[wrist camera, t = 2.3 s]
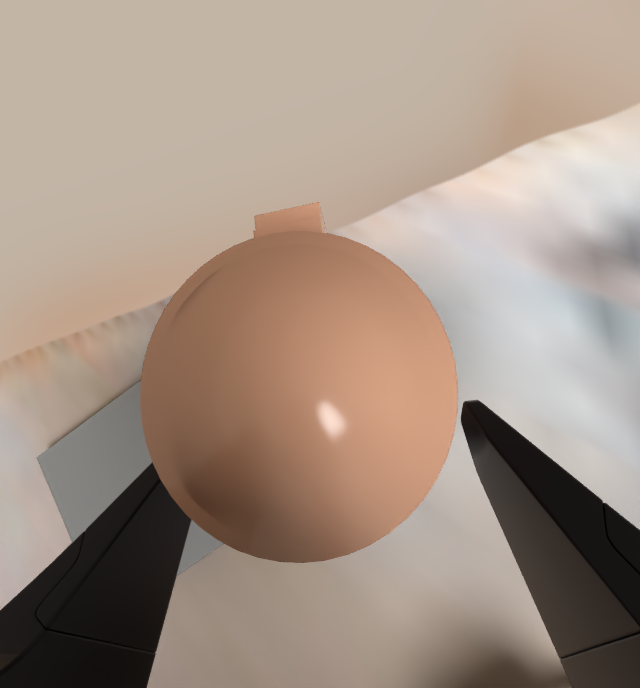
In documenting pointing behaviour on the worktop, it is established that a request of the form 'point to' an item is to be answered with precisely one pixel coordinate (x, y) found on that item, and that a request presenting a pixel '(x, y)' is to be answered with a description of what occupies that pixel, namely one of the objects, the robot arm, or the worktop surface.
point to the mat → (107, 470)
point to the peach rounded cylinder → (298, 393)
